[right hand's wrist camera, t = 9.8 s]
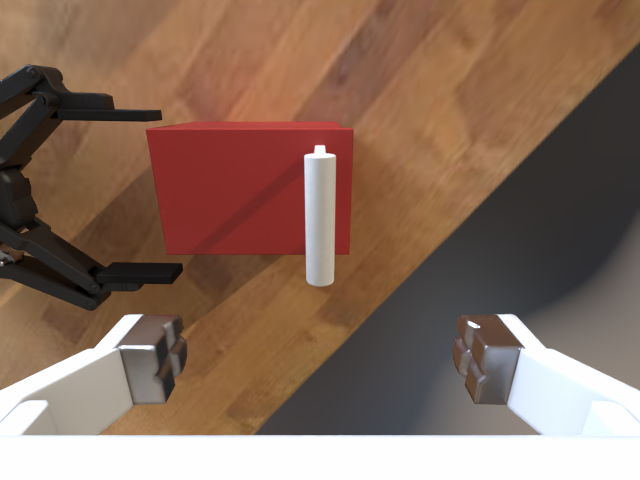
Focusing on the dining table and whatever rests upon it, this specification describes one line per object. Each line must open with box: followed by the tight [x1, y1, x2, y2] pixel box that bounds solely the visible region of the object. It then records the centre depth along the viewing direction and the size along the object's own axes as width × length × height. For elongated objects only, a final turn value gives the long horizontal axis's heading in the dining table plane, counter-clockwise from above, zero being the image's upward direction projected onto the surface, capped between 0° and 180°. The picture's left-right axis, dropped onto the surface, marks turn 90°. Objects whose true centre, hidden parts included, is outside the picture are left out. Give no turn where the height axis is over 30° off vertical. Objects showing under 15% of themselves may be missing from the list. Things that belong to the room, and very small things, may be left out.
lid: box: [146, 128, 353, 287], centre depth 23 cm, size 14×10×8 cm, turn 90°
